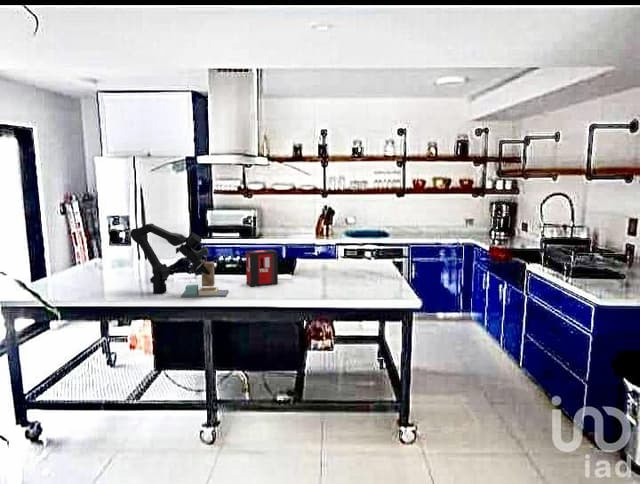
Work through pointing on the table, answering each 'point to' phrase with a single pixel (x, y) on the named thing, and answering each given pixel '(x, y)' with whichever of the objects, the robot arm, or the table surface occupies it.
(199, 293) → the board
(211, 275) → the pillar
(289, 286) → the table surface
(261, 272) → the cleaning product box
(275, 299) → the table surface
